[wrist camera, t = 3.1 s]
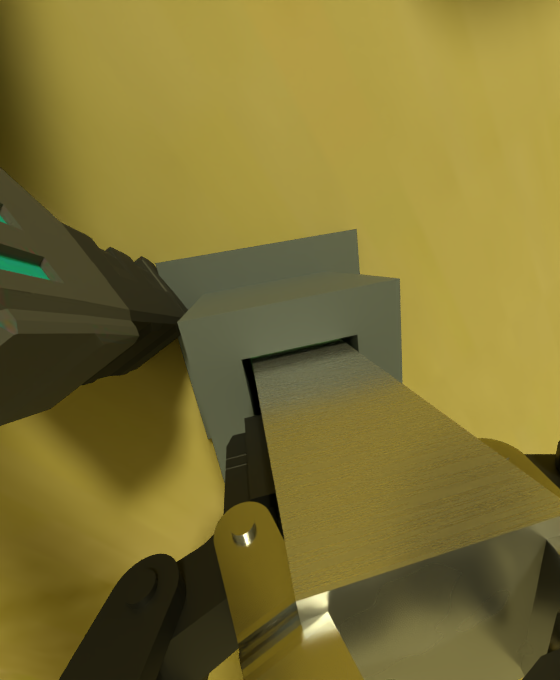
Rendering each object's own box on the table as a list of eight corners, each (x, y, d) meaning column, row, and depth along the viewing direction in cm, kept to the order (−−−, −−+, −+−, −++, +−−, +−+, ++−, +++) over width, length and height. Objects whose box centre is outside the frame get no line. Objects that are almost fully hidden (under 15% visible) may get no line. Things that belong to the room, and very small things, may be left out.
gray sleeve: (159, 263, 18) (80, 265, 9) (350, 230, 20) (457, 202, 10) (209, 431, 23) (191, 554, 13) (363, 394, 24) (446, 480, 15)
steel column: (244, 322, 18) (291, 599, 3) (303, 310, 19) (580, 506, 4) (256, 377, 20) (328, 755, 5) (311, 365, 20) (539, 671, 5)
